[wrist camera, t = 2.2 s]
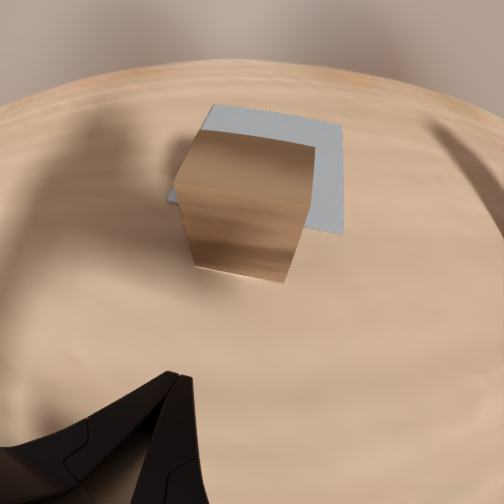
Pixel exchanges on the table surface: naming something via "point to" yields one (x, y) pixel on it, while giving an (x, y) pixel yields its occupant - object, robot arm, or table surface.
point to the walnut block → (245, 202)
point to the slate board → (302, 132)
